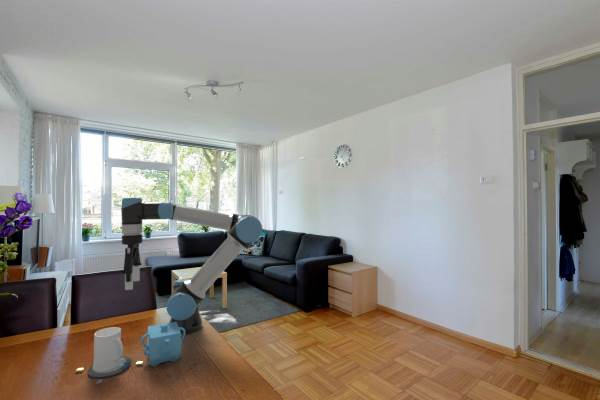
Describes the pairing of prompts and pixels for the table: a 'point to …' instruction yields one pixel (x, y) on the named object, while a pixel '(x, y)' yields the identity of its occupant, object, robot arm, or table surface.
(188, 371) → the table surface
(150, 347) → the teapot
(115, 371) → the socket pad
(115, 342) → the mug
